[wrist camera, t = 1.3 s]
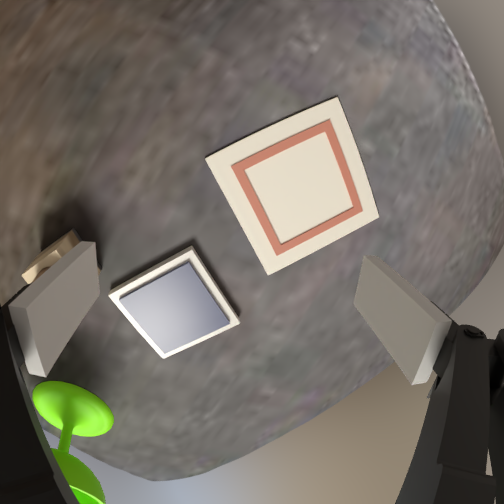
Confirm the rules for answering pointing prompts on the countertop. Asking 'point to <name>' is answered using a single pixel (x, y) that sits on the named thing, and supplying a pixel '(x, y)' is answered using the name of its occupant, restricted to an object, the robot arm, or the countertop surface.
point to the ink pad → (175, 303)
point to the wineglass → (74, 431)
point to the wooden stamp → (53, 256)
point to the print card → (296, 184)
